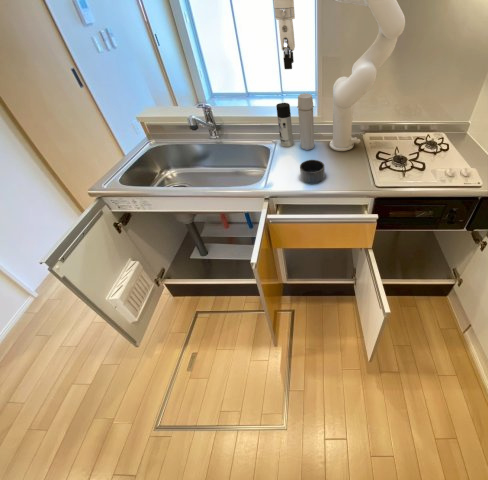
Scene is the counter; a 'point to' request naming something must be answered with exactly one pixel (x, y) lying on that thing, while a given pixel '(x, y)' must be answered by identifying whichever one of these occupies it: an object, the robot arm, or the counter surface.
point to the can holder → (312, 171)
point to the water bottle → (306, 121)
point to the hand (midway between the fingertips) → (289, 65)
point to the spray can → (284, 124)
